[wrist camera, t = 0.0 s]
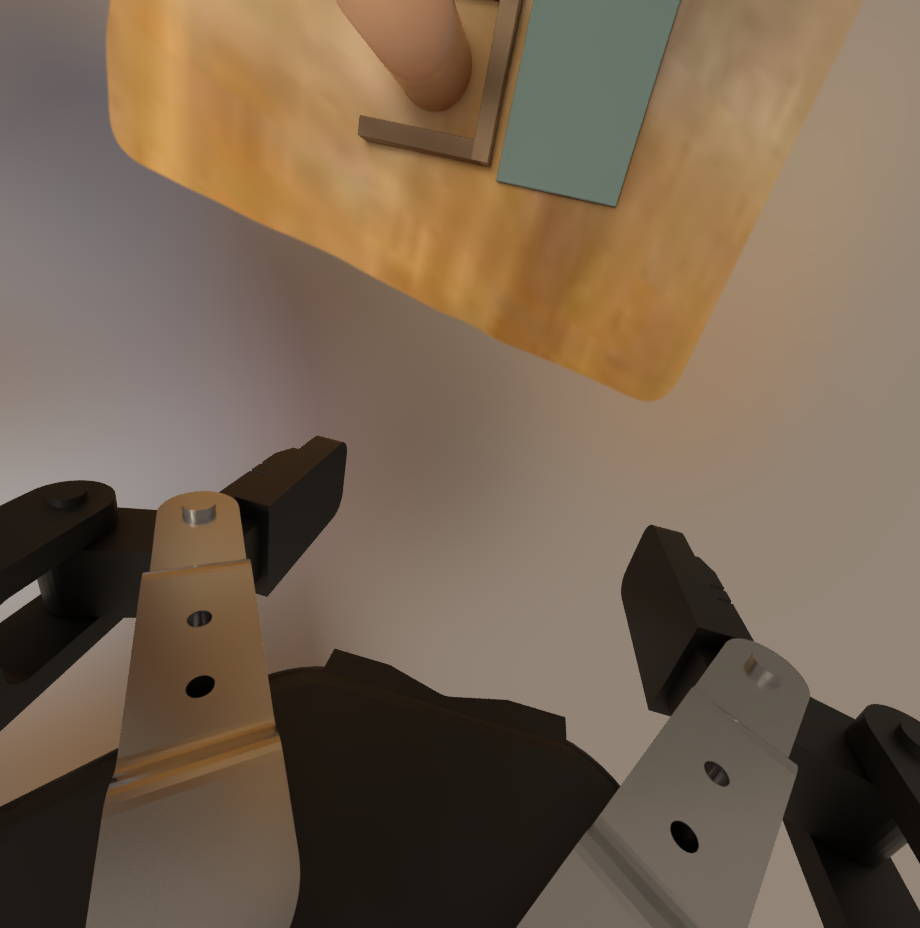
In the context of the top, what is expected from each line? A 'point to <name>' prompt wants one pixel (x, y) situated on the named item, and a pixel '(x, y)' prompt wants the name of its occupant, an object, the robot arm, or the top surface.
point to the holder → (489, 110)
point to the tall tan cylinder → (416, 46)
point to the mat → (583, 94)
